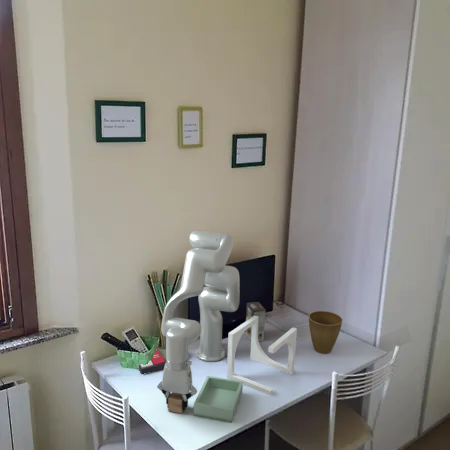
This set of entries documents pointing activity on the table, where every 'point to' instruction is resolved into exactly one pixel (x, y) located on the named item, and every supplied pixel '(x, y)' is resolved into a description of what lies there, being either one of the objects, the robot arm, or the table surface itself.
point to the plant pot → (324, 330)
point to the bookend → (260, 353)
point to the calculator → (153, 364)
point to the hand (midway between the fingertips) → (177, 406)
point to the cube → (175, 402)
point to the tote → (218, 399)
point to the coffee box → (259, 311)
